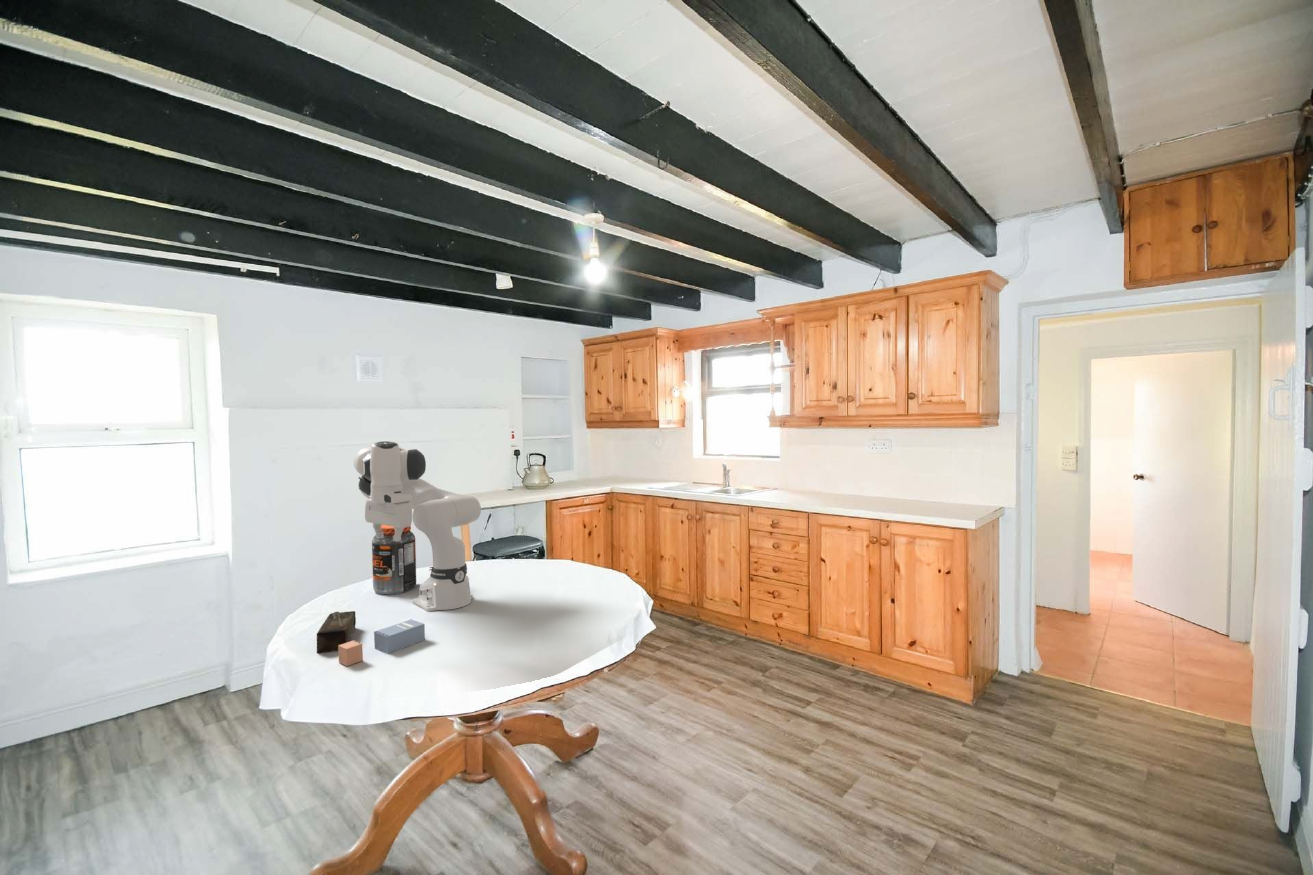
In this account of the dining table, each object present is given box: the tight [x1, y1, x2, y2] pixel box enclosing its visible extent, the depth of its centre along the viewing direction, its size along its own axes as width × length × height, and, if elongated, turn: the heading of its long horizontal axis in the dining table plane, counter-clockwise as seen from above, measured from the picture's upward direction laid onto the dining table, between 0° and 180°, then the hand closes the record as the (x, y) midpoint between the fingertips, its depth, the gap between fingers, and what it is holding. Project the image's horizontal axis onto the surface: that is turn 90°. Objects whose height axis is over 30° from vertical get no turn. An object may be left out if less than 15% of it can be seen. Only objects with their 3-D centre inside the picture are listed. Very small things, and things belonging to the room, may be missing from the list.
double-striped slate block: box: [373, 619, 426, 654], centre depth 171 cm, size 7×12×5 cm, turn 146°
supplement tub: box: [371, 524, 417, 595], centre depth 225 cm, size 16×16×26 cm
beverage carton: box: [316, 610, 357, 654], centre depth 175 cm, size 8×19×7 cm, turn 20°
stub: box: [337, 639, 364, 667], centre depth 159 cm, size 4×4×5 cm
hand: (388, 539), depth 175 cm, fingers open, 8 cm apart
